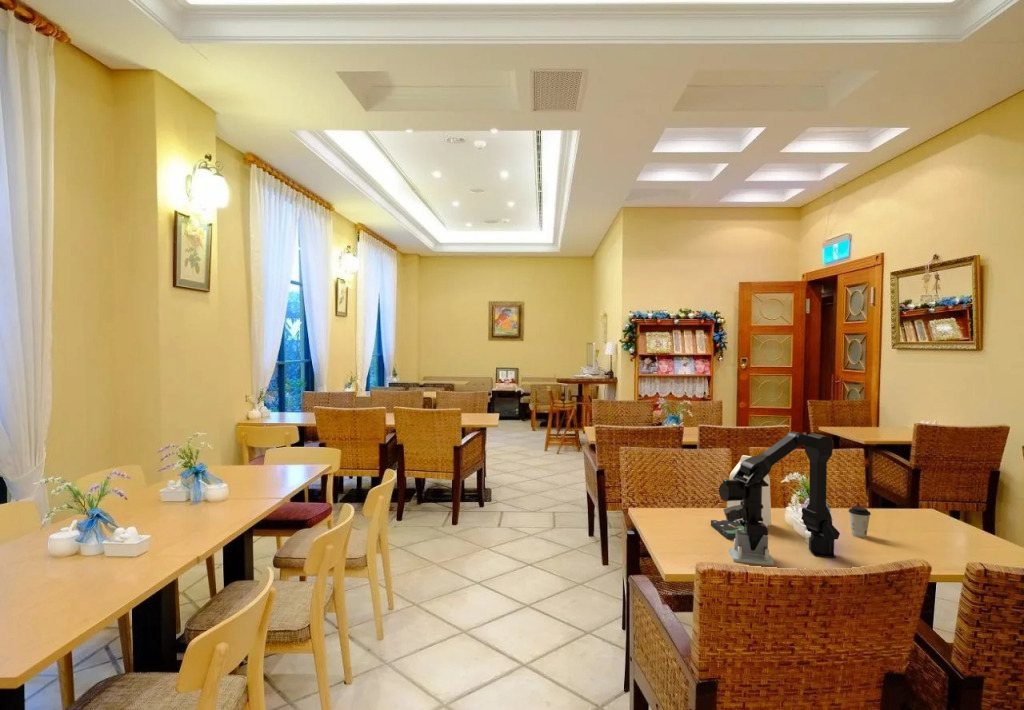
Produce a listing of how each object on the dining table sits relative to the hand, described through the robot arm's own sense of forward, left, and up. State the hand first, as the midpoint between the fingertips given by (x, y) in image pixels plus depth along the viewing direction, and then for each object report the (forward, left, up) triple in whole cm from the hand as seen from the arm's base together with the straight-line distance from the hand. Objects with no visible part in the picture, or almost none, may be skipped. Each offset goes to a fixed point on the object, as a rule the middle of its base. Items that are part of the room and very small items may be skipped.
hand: (751, 547), depth 174 cm
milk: (-6, -37, -4) cm, 38 cm away
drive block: (0, 0, -1) cm, 1 cm away
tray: (0, 0, -4) cm, 4 cm away
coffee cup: (-43, -33, -4) cm, 55 cm away
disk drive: (+2, -25, -4) cm, 25 cm away
